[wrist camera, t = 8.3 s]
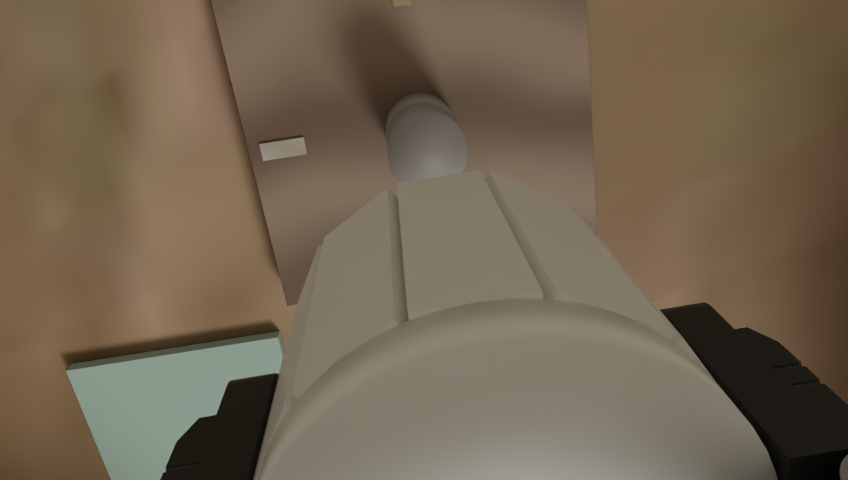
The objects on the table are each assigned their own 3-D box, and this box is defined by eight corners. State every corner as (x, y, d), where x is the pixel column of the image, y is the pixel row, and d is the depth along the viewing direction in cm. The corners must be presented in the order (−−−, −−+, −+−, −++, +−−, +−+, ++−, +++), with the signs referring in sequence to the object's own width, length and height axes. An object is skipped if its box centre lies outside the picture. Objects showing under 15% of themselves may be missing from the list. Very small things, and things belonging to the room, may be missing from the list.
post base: (588, 243, 31) (631, 299, 26) (291, 290, 31) (274, 356, 26) (571, -87, 26) (621, -101, 21) (212, -32, 26) (170, -31, 20)
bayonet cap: (611, 148, 11) (813, 300, 6) (623, 432, 14) (778, 723, 8) (264, 204, 11) (166, 404, 6) (333, 479, 14) (305, 800, 8)
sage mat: (328, 520, 36) (328, 529, 36) (146, 549, 36) (143, 558, 36) (279, 330, 32) (277, 337, 31) (71, 363, 32) (66, 370, 31)
